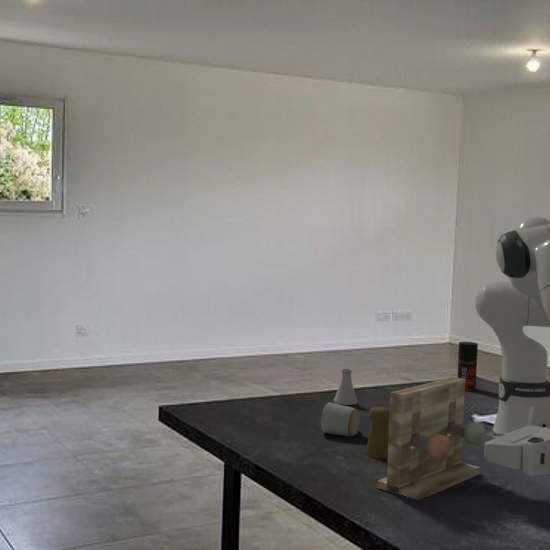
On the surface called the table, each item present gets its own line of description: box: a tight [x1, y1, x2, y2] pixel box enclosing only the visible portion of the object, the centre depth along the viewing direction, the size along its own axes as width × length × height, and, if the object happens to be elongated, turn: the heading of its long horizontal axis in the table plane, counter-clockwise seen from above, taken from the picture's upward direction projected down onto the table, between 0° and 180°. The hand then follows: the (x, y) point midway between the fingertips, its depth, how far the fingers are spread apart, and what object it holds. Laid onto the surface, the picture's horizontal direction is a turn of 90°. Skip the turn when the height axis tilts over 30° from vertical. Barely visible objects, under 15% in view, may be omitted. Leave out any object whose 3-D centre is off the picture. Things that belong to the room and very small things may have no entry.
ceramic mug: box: [320, 402, 361, 437], centre depth 202 cm, size 11×8×8 cm
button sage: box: [448, 421, 486, 447], centre depth 169 cm, size 7×5×5 cm, turn 47°
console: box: [376, 376, 481, 501], centre depth 166 cm, size 10×24×20 cm, turn 137°
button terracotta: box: [411, 433, 450, 459], centre depth 159 cm, size 7×5×5 cm, turn 47°
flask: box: [332, 368, 359, 406], centre depth 235 cm, size 7×7×10 cm
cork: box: [365, 406, 390, 459], centre depth 184 cm, size 6×6×11 cm
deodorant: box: [456, 341, 479, 392], centre depth 259 cm, size 6×6×15 cm
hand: (485, 436), depth 166 cm, fingers closed
